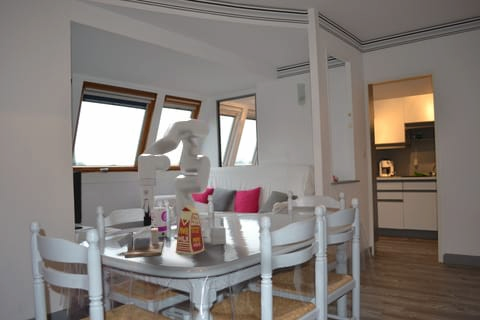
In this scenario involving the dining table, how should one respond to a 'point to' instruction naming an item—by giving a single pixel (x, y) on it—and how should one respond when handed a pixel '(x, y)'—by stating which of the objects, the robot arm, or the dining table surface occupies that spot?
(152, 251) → the walnut board
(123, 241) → the clamp bar
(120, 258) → the dining table surface
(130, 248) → the hinge post
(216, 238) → the skincare box
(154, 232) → the lug slider
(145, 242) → the finned block
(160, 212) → the white product box
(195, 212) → the milk carton
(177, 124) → the robot arm
